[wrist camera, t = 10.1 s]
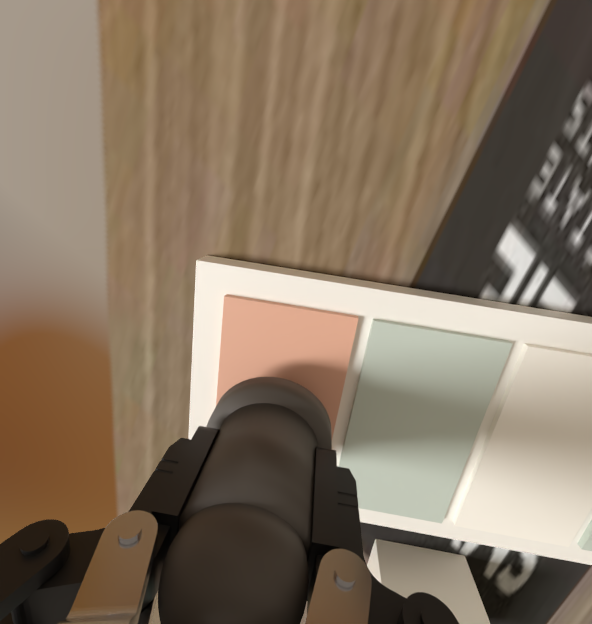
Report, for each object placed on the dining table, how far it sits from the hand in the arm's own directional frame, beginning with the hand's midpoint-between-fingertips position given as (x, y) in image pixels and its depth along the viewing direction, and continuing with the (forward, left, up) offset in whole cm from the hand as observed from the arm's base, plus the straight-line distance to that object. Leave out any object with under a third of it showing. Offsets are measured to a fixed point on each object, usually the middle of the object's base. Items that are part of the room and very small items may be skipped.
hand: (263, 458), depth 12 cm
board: (+6, -7, -4) cm, 10 cm away
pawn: (0, 0, -2) cm, 2 cm away
